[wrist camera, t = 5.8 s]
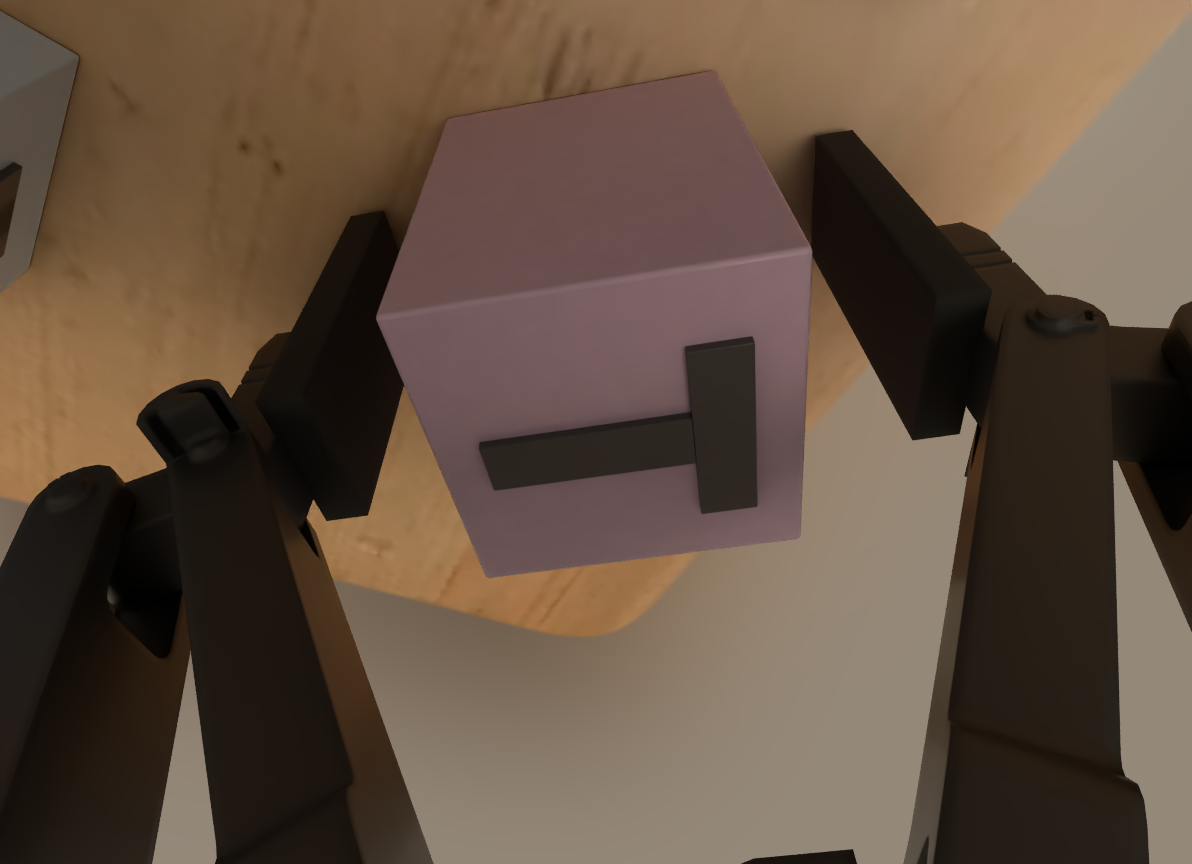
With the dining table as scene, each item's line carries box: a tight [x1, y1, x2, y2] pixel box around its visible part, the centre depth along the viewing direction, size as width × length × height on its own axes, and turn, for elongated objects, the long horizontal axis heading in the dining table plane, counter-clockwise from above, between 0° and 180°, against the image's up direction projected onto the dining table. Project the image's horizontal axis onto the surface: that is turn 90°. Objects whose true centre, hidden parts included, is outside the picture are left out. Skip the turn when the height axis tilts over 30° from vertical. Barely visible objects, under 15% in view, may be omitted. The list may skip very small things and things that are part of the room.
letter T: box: [376, 71, 812, 578], centre depth 13 cm, size 6×6×8 cm
